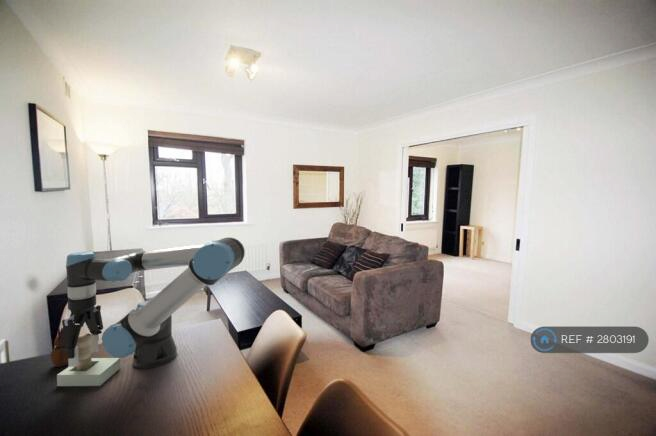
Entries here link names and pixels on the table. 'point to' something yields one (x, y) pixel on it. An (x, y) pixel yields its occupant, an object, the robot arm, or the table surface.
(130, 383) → the table surface
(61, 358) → the wooden figurine
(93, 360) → the socket block
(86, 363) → the dowel
